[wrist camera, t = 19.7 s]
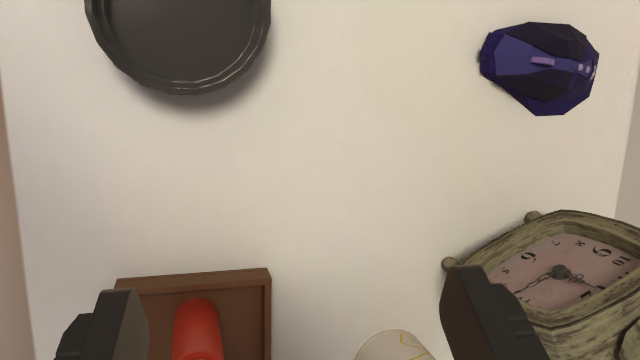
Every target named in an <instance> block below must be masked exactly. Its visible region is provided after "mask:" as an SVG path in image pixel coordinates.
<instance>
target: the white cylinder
mask: <svg viewBox="0 0 640 360" xmlns="http://www.w3.org/2000/svg"><path fill="white" fill-rule="evenodd" d="M356 360H436V359H435V358H434V357H433V356H432V355H431V354H430V353H429V352H428V350H427V349H426V348H425V347H424V346H423V345H422V344H421V343H420V341H419V340H418V339H417V338H416V337H415V336H414V335H412V334H411V333H409V332H406V331H403V330H389V331H385V332H382V333H379V334H377V335H376V336H374V337H372V338H371V339H370V340H369V341H367V342H366V343H365V344H364V346H363V347H362V348H361V350H360V351H359V353H358V355H357V357H356Z"/></svg>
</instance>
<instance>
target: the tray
mask: <svg viewBox="0 0 640 360" xmlns="http://www.w3.org/2000/svg"><path fill="white" fill-rule="evenodd" d="M123 288H135V289H136V290H137V292H138V295H139V298H140V301H141V304H142V307H143V310H144V313H145V316H146V319H147V322H148V326H149V349H148V354H147V359H146V360H171V351H172V334H173V318H174V314H175V311H176V310H177V308H178V307H179V306H180V305H181V304H182V303H184V302H185V301H187V300H190V299H194V298H202V299H206V300H208V301H210V302H211V303H212V304H214V306H215V307H216V309H217V311H218V316H219V323H220V331H221V339H222V346H223V354H224V360H271V276H270V274H269V272H268V269H267V268H255V269H242V270H229V271H215V272H202V273H189V274H175V275H162V276H149V277H135V278H122V279H117V281H116V284H115V286H114V289H123Z"/></svg>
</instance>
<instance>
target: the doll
mask: <svg viewBox="0 0 640 360" xmlns="http://www.w3.org/2000/svg"><path fill="white" fill-rule="evenodd" d="M171 360H224V354H223V346H222V339H221V331H220V323H219V316H218V311H217V309H216V307H215V306H214V304H212V303H211V302H210V301H208V300H206V299H202V298H194V299H190V300H187V301H185V302H184V303H182V304H181V305H180V306H179V307H178V308H177V310H176V311H175V314H174V318H173V334H172V351H171Z"/></svg>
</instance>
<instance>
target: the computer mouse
mask: <svg viewBox="0 0 640 360" xmlns="http://www.w3.org/2000/svg"><path fill="white" fill-rule="evenodd" d="M480 58H482V60H481V73H483V74H484V77H486V78H487V79H489V80H491V81H493V82H494V83H496V84H498V85H500V86H501V87H502V88H504V89H505V90H506V91H507V92H508V93H510V94H511V95H512V96H513V97H514V98H515V99H517V100H518V101H519V102H520V103H521V104H522V105H524V106H525V107H526V108H527V109H528V110H529V111H531V112H532V113H533V114H534V115H535V116H548V115H564V114H565V113H567V112H568V111H570V110H571V109H572V108H574V107H575V106H577V105H578V104H579V103H581V102H582V101H584V100H585V99H586V98H588V97H589V95H590V92H591V88H592V85H593V82H594V78H595V74H596V69H597V64H598V59H599V53H598V52H597V51H596V50H595V49H594V48H593V46H592V45H591V44H590V42H589V41H588V40H587V38H586V35H584V34H583V33H581V32H580V31H578V30H577V29H575V28H574V27H572V26H571V25H569V24H554V23H538V22H527V23H524V24H520V25H516V26H511V27H507V28H503V29H499V30H495V31H494V32H492V33H490V32H489V34H488V37H487V39H486V42H485V45H483V46H482V50H481V57H480Z"/></svg>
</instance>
